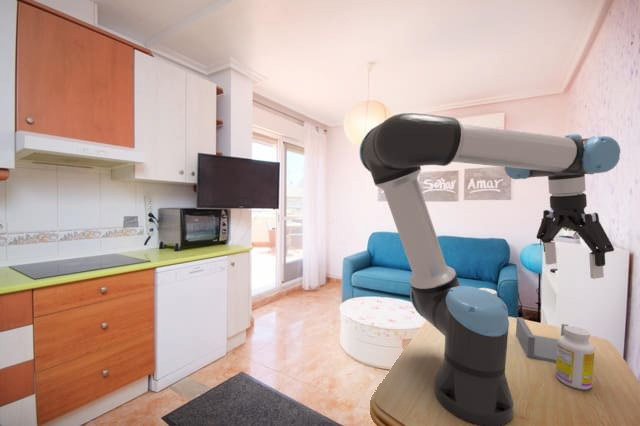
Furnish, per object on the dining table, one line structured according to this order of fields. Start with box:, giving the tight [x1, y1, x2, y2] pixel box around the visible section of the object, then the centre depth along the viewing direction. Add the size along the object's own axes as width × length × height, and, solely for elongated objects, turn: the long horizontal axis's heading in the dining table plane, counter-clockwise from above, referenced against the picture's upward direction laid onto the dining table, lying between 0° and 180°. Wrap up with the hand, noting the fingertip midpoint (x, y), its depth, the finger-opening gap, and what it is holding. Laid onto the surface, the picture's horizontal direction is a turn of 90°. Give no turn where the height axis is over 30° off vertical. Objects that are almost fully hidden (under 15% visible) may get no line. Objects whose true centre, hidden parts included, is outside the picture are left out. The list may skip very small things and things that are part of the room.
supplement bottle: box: [555, 325, 595, 390], centre depth 69 cm, size 7×7×13 cm
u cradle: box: [515, 316, 570, 364], centre depth 84 cm, size 13×14×6 cm
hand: (572, 270), depth 80 cm, fingers open, 13 cm apart
